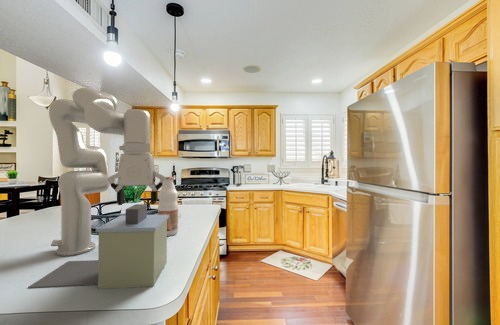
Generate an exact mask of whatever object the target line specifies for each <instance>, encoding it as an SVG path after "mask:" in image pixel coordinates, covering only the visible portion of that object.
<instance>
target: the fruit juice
mask: <svg viewBox="0 0 500 325" xmlns="http://www.w3.org/2000/svg"><path fill="white" fill-rule="evenodd" d="M165 177H166V180H165V182H164V184H163V186H162V187H161V188H160V189H159V191H158V201H159V202H158V205H157V215H169V218H168V219H167V237H169V236H175V235H177V234H178V232H179V202H178V196H179V193H178V191H177V189H176V186H175V183H174V178H175V177H174V176H165Z"/></svg>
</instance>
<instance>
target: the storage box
mask: <svg viewBox="0 0 500 325" xmlns="http://www.w3.org/2000/svg"><path fill="white" fill-rule="evenodd" d="M167 238H168V236H167V220H166V221H165V222H164V223H163V224H162V225H161V226H160V227H159V228H158V229H157V230H156V231H132V232H98V259H97V260H98V284H97V286H98V289H114V288H116V289H117V288H138V287H139V288H141V287H154V286H155V284H156V283H157V281H158V279H159V277H160V275H161V274H162V272H163V270H164V269H165V267H166V265H167V258H168V256H167V252H168V248H167V247H168V246H167V244H168V242H167V241H168V240H167Z"/></svg>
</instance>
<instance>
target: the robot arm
mask: <svg viewBox="0 0 500 325" xmlns="http://www.w3.org/2000/svg"><path fill="white" fill-rule="evenodd" d="M117 109H118V101H117V99H116V97H115V96H114V95H113V94H111V93H108V92H106V91H100V90H97V89H93V88H88V87H80V88H77V89H76V90H75V91H73V94H72V99H64V98H60V99H54V100H52V102H51V103H50V105H49V108H48V115H49V116H48V117H49V121H50V123H51V126H52V128H53V130H54V132H55V136H56V140H57V147H58V154H59V160H60V164H61V165H62V166H63V167H64V168H66V169H85V170H71V171H66V172H63V173H62V174H60V176H59V177H58V182H57V184H58V188H59V189H58V190H59V193H60V202H61V208H60V209H61V219H60V220H61V226H60V227H61V232H60V233H61V234H60V235H61V238H60V239H53V240H52V242H51V244H50V246H51V247H57V249H56V251H55V254H56V255H57V256H61V257H62V256H63V257H65V256H77V255H80V254H81V255H82V254H84V253H88V252H90V251H92V250H94V249H95V248H96V243H95V242H93V241H92V203H91V202H90V200H89V199H88V198H87V197H86V196H85V195H89V194H97V193H103V192H107V190H109V188H110V187H111V188H112V189H113V190H114V191H115V192H116V203H117V205H118V206H121V205H125V203H126V201H125V200H126V198H125V195H126V193H125V191H124V189H125V188H126V187H149V188H150V189H151V191H150V204H151V205H155V204H156V203H157V201H159V197H158V194H159V191H160V190H161V188H162V186H163V184H164V182H165V180H166V177H167V176H165V175H162V174H160V173H159V172H157V171H156V168H155V159H154V157H153V156H154V155H153V154H152V153H151V115H150V113H149V112H148V111H147V110H144V109H138V108H130V109H126V110H125V111H119V110H117ZM74 123H80V124H87V125H88V126H89V127H90V128H92V129H93V130H94V131H96V132H98V133H102V134H110V135H117V136H118V135H119V136H123V143H122V145H119V147H118V149H119V151H123V153H121V154H120V155H119V162H118V168H117V173H114V174H113V175H111V176H110V170H109V162H108V157H107V153H106V152H105V150H104V149H103V148H102V147H100V146H95V145H86V144H85V141H84V134H83V133H82V131H81V130H80V129H79V128H78V126H76V125H75V124H74ZM86 169H91V170H86ZM156 178H158V179H159V182H158V183H157V184H156ZM116 180H117V183H116Z"/></svg>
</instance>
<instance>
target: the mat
mask: <svg viewBox="0 0 500 325" xmlns="http://www.w3.org/2000/svg"><path fill="white" fill-rule="evenodd" d="M77 286H78V287H81V286H82V287H83V286H85V287H87V286H98V259H97V260H96V259H95V260H94V259H92V260H68V261H67V262H65V263H63V264H62V265H59V266H58V267H57V268H55V269H54V270H52V271H51V272H49V273H47V274H46V275H45V276H43V277H41V278H40V279H38V280H37V281H35V282H34V283H32V284H31V285H29V286H28V287H27V289H34V288H35V289H37V288H38V289H40V288H61V287H63V288H64V287H77Z"/></svg>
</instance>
